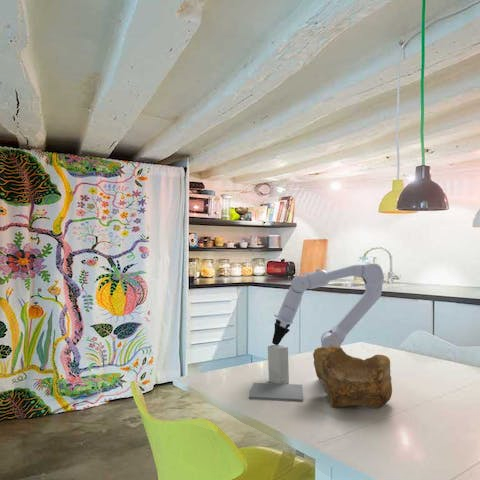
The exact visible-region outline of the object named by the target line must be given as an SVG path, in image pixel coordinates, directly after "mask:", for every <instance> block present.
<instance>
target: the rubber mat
mask: <svg viewBox="0 0 480 480" xmlns="http://www.w3.org/2000/svg"><path fill="white" fill-rule="evenodd" d="M303 391H304V390H303V384H298V383H297V384H293V383H287V384H276V383H273V382H253V384H252V387H251V390H250V392H249V395H248V398H249V399H252V400H268V401H269V400H270V401H284V402H285V401H288V402H290V401H292V402H304V393H303Z"/></svg>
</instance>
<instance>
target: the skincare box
mask: <svg viewBox="0 0 480 480" xmlns="http://www.w3.org/2000/svg"><path fill="white" fill-rule="evenodd" d="M267 363H268V368H267V370H268V382H269V383H276V384H290V374H289V373H290V372H289V371H290V370H289V368H290V367H289V347H288V346H284V345H280V344H278V345H275V344H272V345H267Z"/></svg>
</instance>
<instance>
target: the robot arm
mask: <svg viewBox="0 0 480 480" xmlns="http://www.w3.org/2000/svg"><path fill="white" fill-rule="evenodd" d="M348 277H349V278H350V277H356V278H361V279H362V281H363V282H364V289H365V292H364V293H362V295H361V296H360V298H358V300H357V301H355V303H354V304H353V305H352V306H351V308H350V309H348V311H347V312H346V313H345V314H344V316H342V318H340V319H339V321H338V322H337V323H336V324H335V325H334V326H332V327H331V329H330V330H328V331H325V332H324V333H322V335H321V337H320V343H321V344H320V345H321V347H325V348H328V347H331V346H338V347H341V345H342V343H344V341H345V340H346V337H347V336H348V334H349V333H350V331H352V330H353V328H355V326H356V325H357V324H358V323H359V322H360V320H361V319H362V318H363V317H364V316H365V315H366V314H367V313H368V311H370V309H371V308H372V307H373V305H375V304H376V302H377V301H378V300H379V299H380V298H381V296H382V292H383V291H382V290H383V284H384V279H385V275H384V272H383V268H382V267H381V266H380V265H379V264H376V263H375V262H374V263H371V262H367V263H365V264H363V263H362V264H353V265H349V266H345V267H341V268H338V269H334V270H331V271H326V270H324V269H320V268H316V269H315V271H312V272H308V273H307V272H303V273H302V275H296V276H294V277H293V279H292V280H291V282H290V286H289V287H288V291H287V292H286V293H285V294H286V295H285V297H284V300H283V302H282V304H281V307H280V308H279V311H278V314H277V313H274V315H273V316H274V317H275V322H274V331H273V332H274V333H273V337H272V343H271V344H272V345H280V343H281V341H282V339H284V337H285V336H286V335H287V334H288V333H289V332H290V331H291V330H290V329H289V328H290V326H291V325H292V324H294V319H295V316H296V314H297V312H298V309H299V307H300V304H301V303H302V300H303V295H304V292H305V291H307V290H308V289H309V290H312V289H317V288H321V287H322V288H323V287H325V286H328V284H329V283H330V282H331V281H333V280H339V279H344V278H348ZM318 379H319V378H318ZM319 381H320V382H322V380H320V379H319Z"/></svg>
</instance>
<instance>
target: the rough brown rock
mask: <svg viewBox="0 0 480 480" xmlns="http://www.w3.org/2000/svg"><path fill="white" fill-rule="evenodd" d="M312 353H313V354H312V357H313V365H314V369H315V374H316V377H317V378H318V379H320V380H322V381H321V383H322V386H323V388H324V391H325V393H326V394H327V398H328V401H329V405H330V407H331V408H344V407H348V406H364V407H367V408H371V409H379V408H381V407H383V406H384V405H386V404H387V403H388V402H389V401H390V400H391V398H392V394H393V386H392V385H393V384H392V376H391V360H390V357H388V356H387V355H383V354H375V355H373V356H371V357H367V358H365V359H362V358H359V357H356V356H355V357H354V356H351V355H349V354H347V353H346V352H345V351H344V349H343V348H342V347H341V346H340V347H338V346H331V347H328V348H325V347H322V346H321V347H317V348H316V349H314V351H313V352H312ZM320 380H319V381H320Z"/></svg>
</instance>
